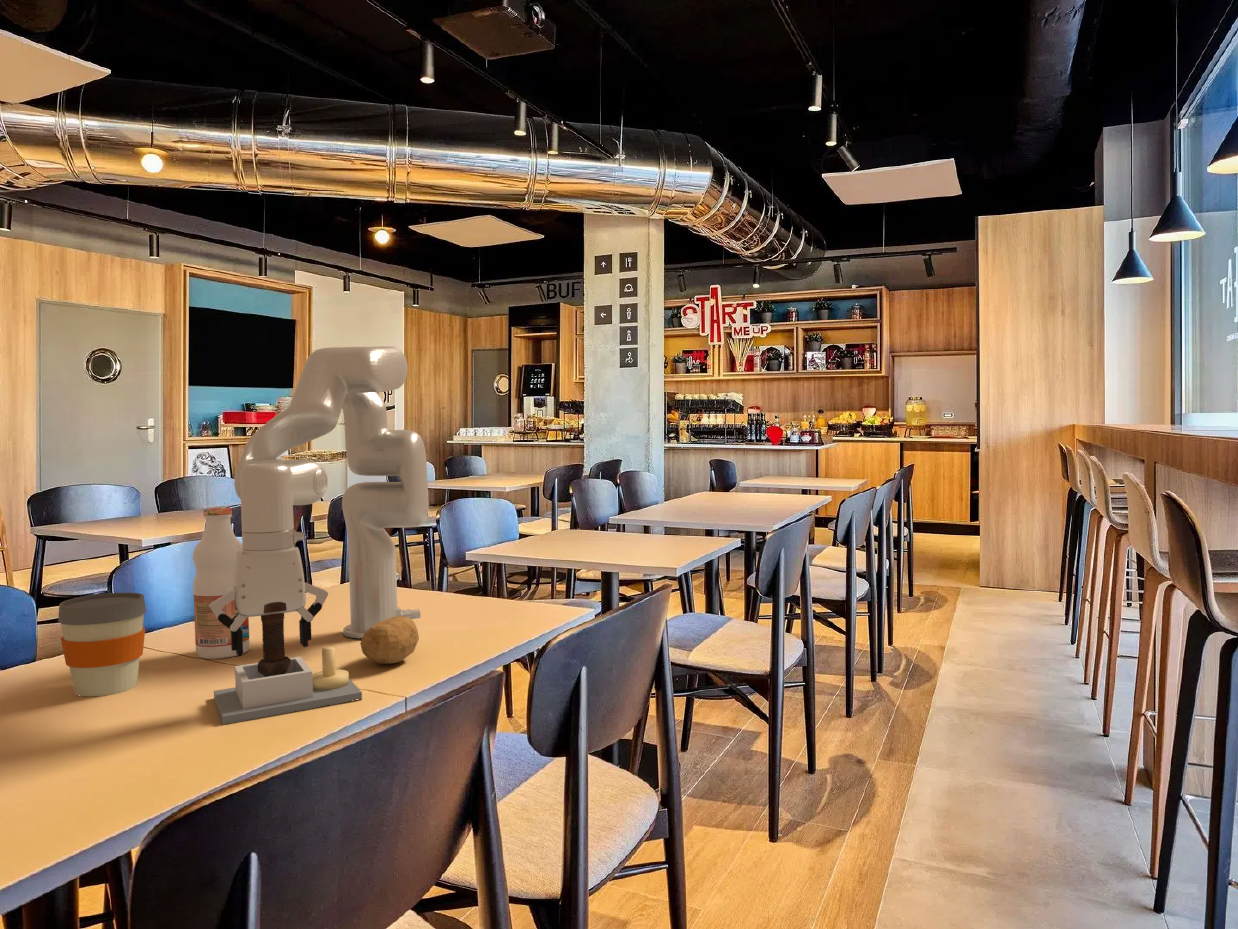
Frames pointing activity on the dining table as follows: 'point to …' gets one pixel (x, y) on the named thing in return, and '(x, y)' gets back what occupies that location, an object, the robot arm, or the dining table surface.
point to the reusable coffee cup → (103, 641)
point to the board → (284, 690)
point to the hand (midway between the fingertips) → (272, 649)
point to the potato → (390, 640)
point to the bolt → (273, 642)
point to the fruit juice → (215, 585)
